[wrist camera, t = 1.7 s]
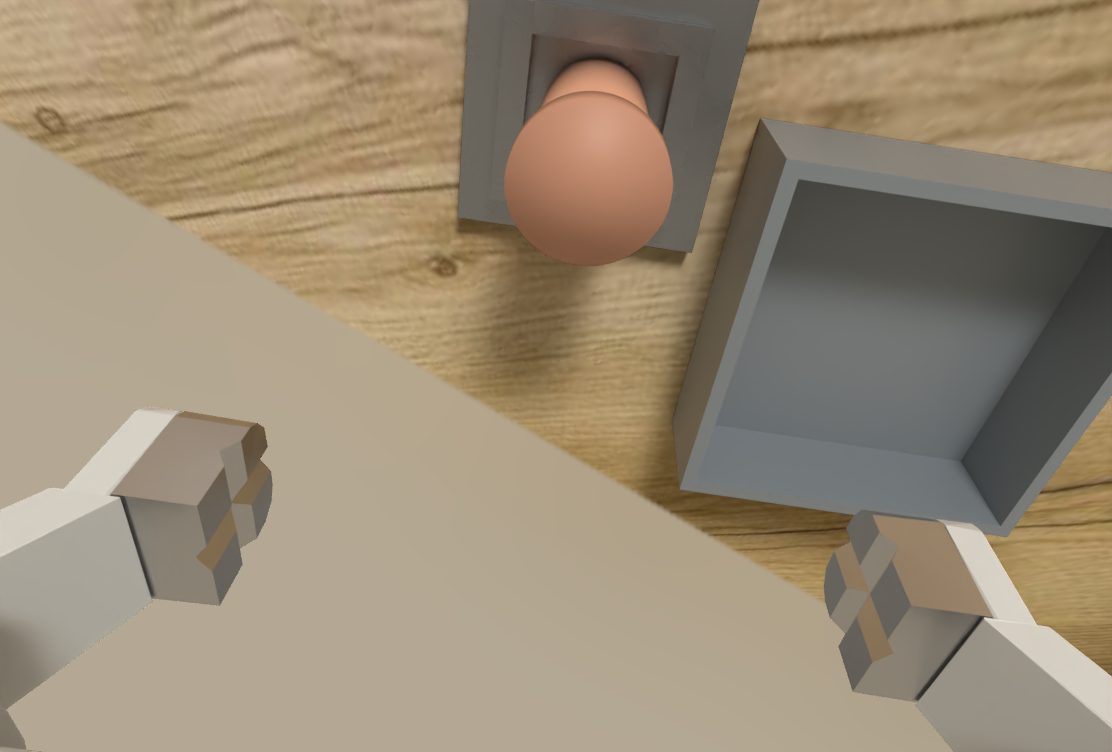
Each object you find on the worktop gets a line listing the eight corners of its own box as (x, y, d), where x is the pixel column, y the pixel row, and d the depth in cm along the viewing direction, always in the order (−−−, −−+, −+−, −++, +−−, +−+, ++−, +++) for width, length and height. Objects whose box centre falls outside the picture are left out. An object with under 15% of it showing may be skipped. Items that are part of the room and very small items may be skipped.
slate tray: (1142, 177, 27) (1235, 228, 23) (962, 463, 36) (1006, 537, 32) (760, 117, 27) (786, 158, 23) (672, 421, 36) (679, 489, 32)
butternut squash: (670, 56, 25) (691, 116, 19) (643, 184, 28) (653, 276, 21) (539, 35, 25) (512, 88, 19) (525, 166, 28) (497, 253, 21)
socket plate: (758, -17, 25) (768, -10, 23) (690, 245, 30) (694, 263, 29) (476, -62, 24) (467, -58, 23) (461, 210, 30) (453, 226, 29)
